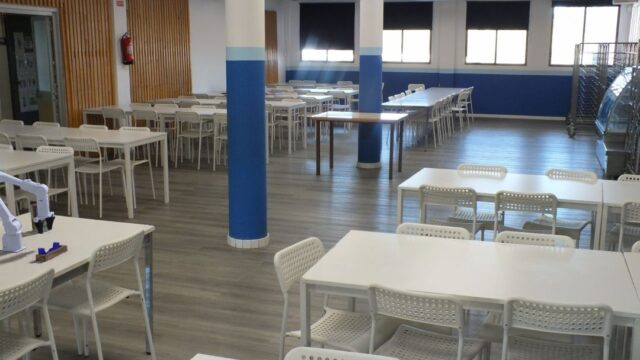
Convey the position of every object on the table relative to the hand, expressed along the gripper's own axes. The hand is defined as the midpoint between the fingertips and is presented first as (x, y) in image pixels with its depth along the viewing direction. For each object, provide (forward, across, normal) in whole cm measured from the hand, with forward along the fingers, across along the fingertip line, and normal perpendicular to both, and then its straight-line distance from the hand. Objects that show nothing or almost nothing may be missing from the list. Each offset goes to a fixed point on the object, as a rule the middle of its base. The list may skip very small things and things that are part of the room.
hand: (45, 231), depth 353 cm
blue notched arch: (+10, -11, -9) cm, 17 cm away
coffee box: (+10, +29, +25) cm, 39 cm away
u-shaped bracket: (+9, -10, -10) cm, 17 cm away
